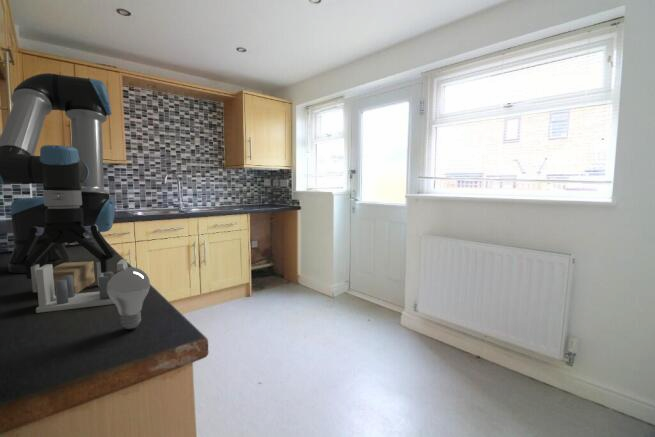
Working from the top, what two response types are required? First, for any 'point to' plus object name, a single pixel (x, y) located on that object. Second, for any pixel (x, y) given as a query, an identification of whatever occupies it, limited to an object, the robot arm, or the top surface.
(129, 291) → the light bulb
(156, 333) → the top surface
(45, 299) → the peg stand
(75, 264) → the wooden block
